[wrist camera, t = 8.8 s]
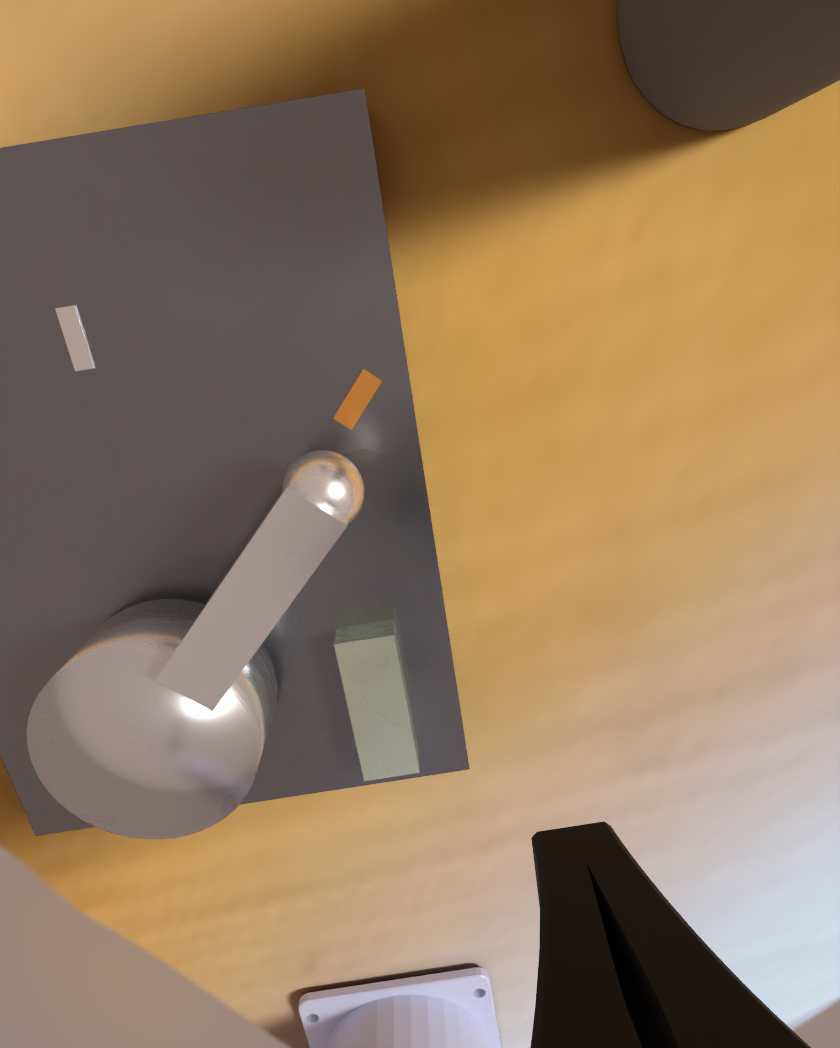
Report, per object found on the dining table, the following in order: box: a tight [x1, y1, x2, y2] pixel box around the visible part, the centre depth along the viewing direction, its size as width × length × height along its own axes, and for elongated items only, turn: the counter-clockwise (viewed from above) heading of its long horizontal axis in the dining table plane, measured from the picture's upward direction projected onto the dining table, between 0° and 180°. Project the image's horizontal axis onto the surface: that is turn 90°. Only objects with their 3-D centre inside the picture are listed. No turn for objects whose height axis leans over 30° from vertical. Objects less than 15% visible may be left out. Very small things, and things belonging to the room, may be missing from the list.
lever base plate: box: [0, 88, 469, 836], centre depth 18 cm, size 20×15×2 cm
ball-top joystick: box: [27, 450, 365, 839], centre depth 17 cm, size 12×6×4 cm, turn 144°
